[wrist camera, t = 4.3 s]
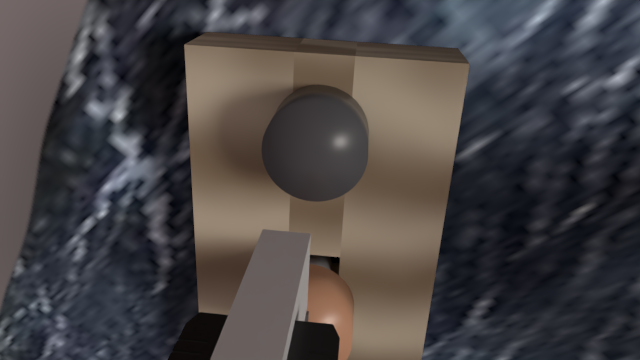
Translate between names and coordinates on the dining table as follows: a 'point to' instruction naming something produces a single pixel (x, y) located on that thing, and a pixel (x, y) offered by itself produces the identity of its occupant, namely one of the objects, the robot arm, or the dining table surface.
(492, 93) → the dining table surface
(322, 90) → the black knob
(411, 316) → the mount
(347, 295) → the orange knob middle
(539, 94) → the dining table surface
